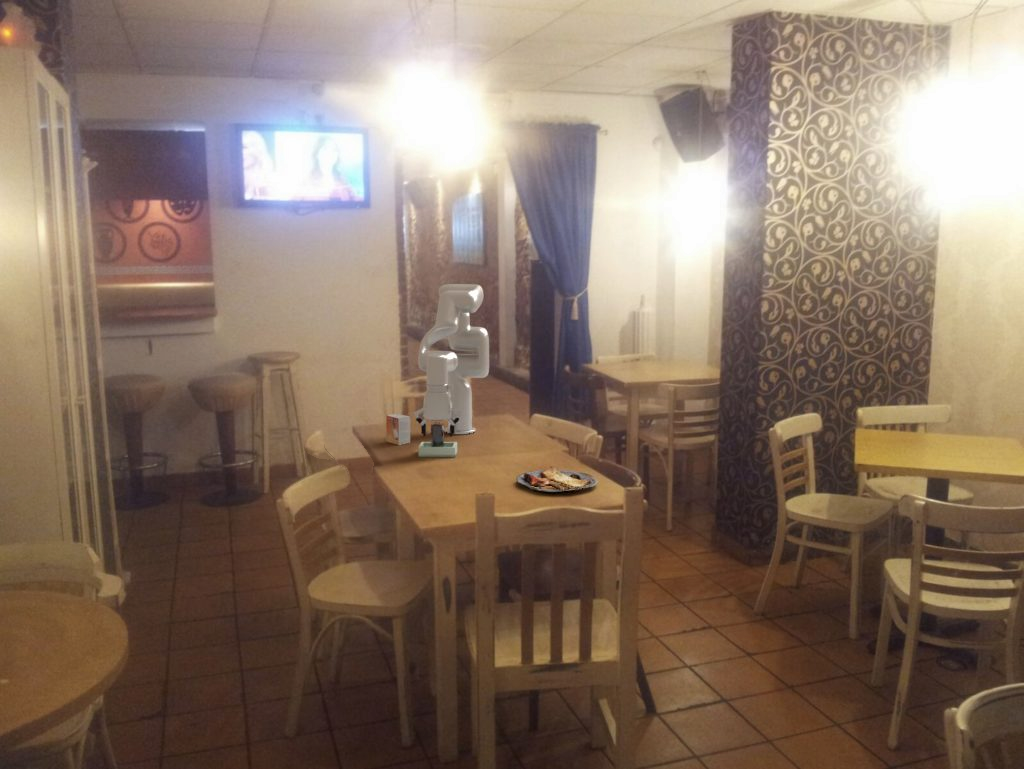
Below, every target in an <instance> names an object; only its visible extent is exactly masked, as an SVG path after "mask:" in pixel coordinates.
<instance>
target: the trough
mask: <svg viewBox="0 0 1024 769" xmlns="http://www.w3.org/2000/svg"><path fill="white" fill-rule="evenodd" d="M457 453H458V441H444V447H431V441H420V444H419V445H418V458H456V456H457Z"/></svg>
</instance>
